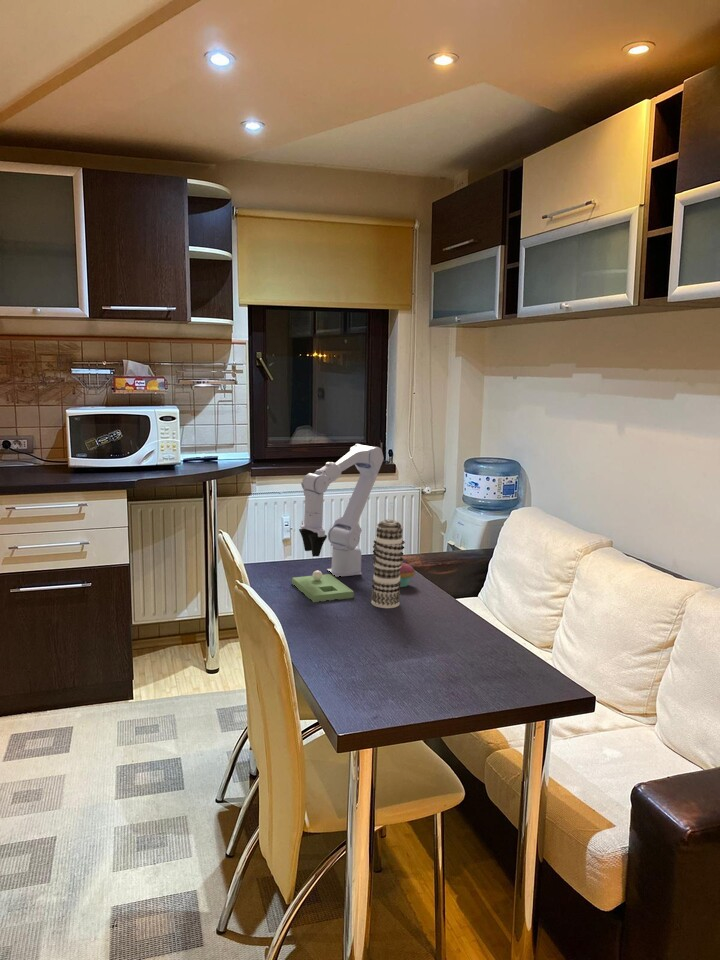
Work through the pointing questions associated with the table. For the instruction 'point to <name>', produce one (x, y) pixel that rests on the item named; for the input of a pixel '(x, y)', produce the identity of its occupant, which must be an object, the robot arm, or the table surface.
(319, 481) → the robot arm
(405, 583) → the cupcake
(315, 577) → the ball
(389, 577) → the cream and black cylinder
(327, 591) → the putting mat
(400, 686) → the table surface
